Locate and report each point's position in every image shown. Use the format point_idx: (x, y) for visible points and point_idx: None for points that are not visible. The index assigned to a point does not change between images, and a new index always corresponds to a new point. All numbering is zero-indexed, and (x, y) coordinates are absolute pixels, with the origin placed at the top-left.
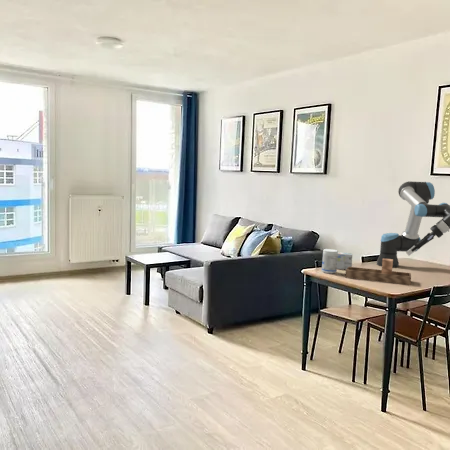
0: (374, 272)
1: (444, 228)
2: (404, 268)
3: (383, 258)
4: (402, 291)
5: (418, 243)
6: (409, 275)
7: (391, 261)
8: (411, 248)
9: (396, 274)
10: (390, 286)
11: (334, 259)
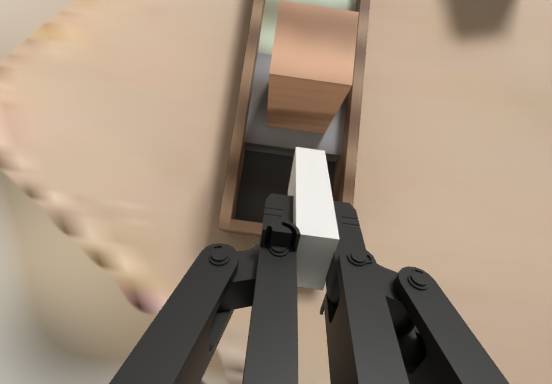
0: None
1: None
2: None
3: (355, 15)
4: (41, 164)
5: (254, 299)
6: (257, 223)
7: (270, 67)
8: (296, 196)
9: (341, 161)
10: (144, 118)
11: None
